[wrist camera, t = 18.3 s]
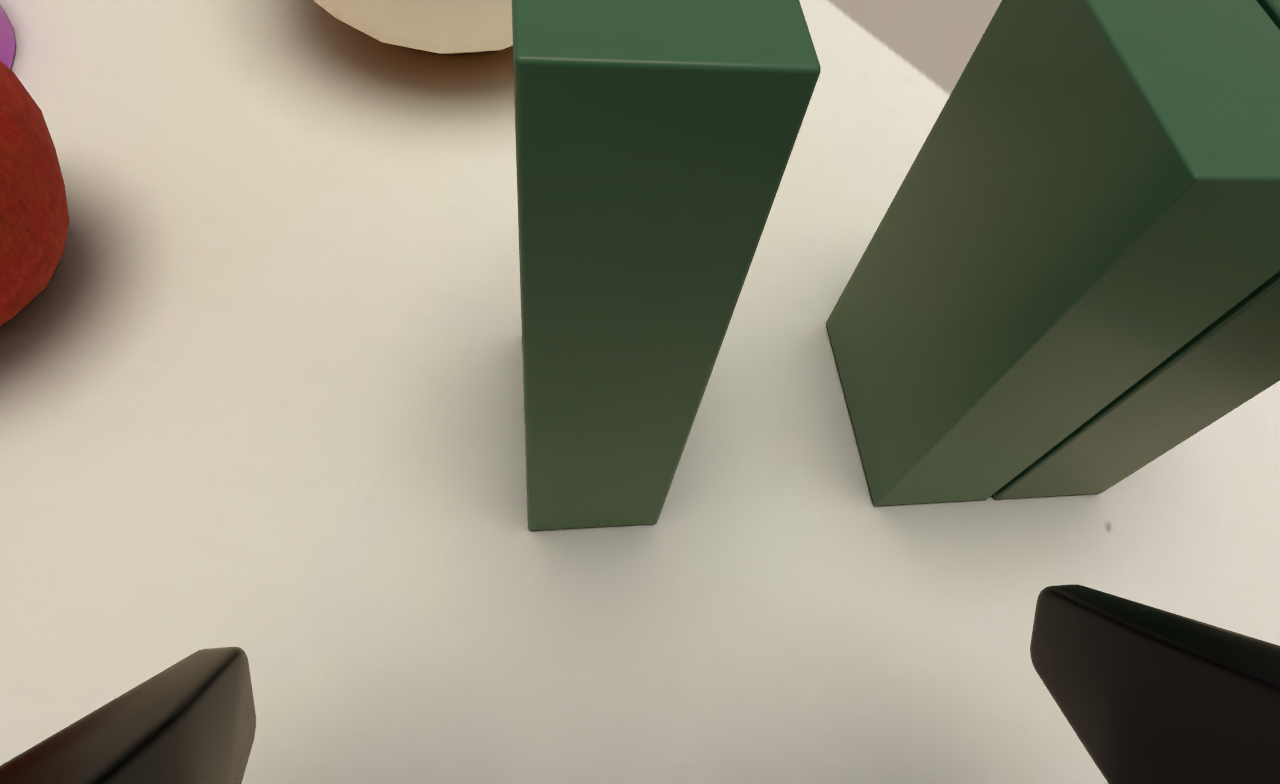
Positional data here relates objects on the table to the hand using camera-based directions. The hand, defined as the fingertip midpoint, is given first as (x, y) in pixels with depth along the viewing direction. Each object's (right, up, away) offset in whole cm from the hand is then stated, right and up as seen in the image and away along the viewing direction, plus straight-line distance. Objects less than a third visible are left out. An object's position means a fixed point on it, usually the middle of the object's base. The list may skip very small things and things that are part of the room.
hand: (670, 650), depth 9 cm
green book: (-2, +2, +11) cm, 11 cm away
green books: (+8, +2, +12) cm, 15 cm away
